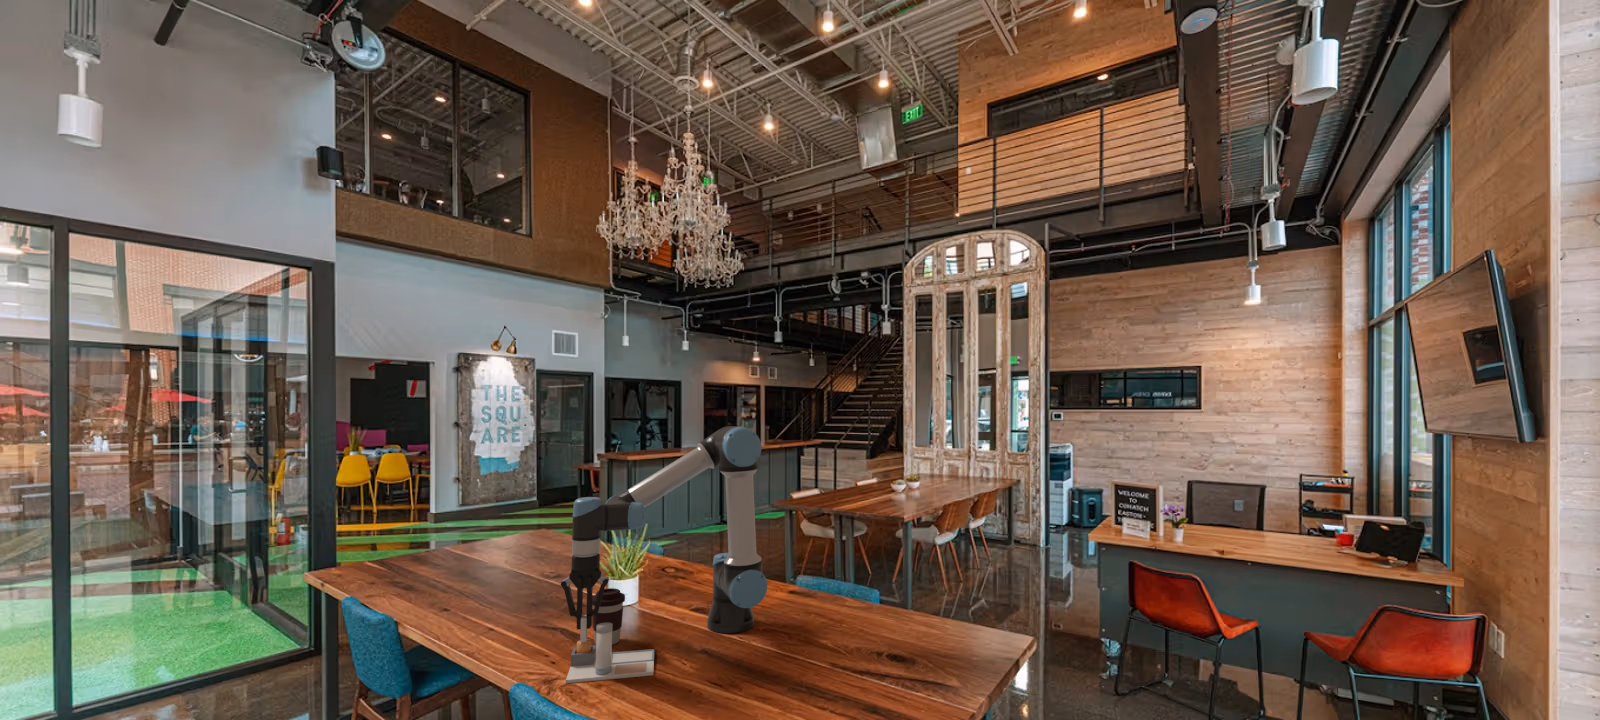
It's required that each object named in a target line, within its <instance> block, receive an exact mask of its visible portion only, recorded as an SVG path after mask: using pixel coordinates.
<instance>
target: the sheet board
mask: <svg viewBox="0 0 1600 720" xmlns="http://www.w3.org/2000/svg"><path fill="white" fill-rule="evenodd" d="M571 651H572V652H571V653H570V667H569V671H568V673H567V675H566V679H565V684H571V683H572V684H574V683H584V682H596V681H604V680H615V679H618V680H619V679H627V678H635V677H637V678H638V677H647V676H648V677H649V676H650V677H651V676H654V671H655V669H654V668H655V667H654V666H655V665H654V663H655V648H652V649H639V650H628V651H627V650H626V651H615V652H614V651H613V652H612V660H611V672H610V673H608V674H605V675H598V674H596V673H595V671H596V644H594V645H593V644H591V652H590V653H578V654H577V646H573V649H572V650H571Z"/></svg>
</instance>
